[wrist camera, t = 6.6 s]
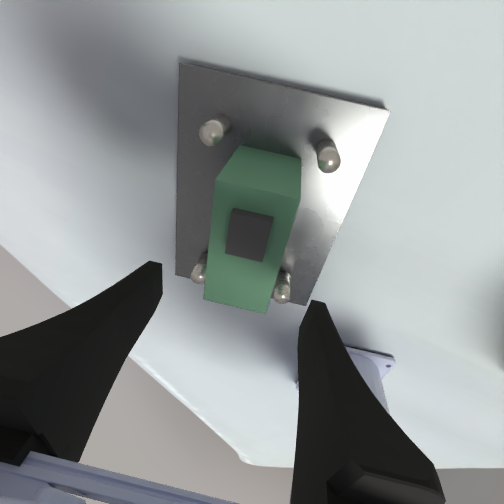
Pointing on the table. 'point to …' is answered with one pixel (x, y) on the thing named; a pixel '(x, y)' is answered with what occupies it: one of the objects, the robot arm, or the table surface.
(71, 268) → the table surface
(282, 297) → the plate
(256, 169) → the circuit block
